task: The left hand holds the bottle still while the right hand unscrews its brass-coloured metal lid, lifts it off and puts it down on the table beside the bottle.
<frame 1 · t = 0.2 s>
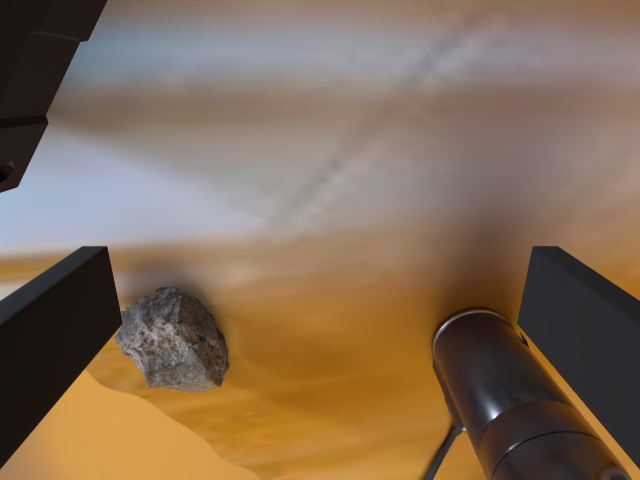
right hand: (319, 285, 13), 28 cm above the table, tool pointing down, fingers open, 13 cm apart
rock: (186, 327, 46), on the table
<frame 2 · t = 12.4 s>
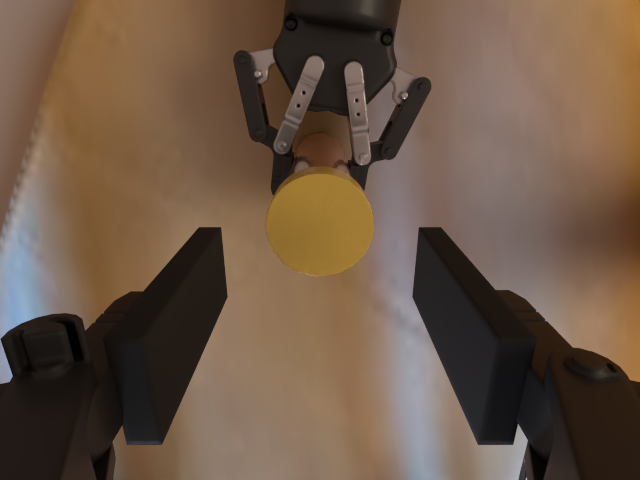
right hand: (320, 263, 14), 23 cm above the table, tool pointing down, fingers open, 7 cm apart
left hand: (314, 204, 31), fingers closed on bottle, 4 cm apart
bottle: (319, 157, 36), on the table, touching left hand
lid: (319, 225, 18), point 19 cm above the table, screwed on, not yet turned
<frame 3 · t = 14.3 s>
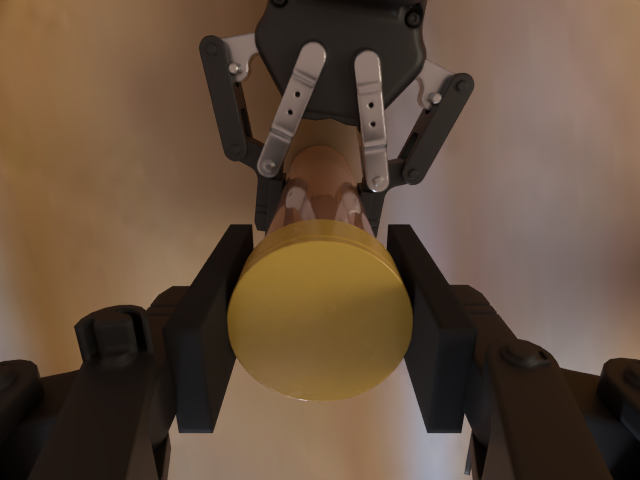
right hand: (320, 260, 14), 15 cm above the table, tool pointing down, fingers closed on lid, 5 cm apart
left hand: (313, 241, 24), fingers closed on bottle, 4 cm apart
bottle: (320, 175, 28), on the table, touching left hand
lid: (320, 321, 11), point 19 cm above the table, screwed on, not yet turned, touching right hand
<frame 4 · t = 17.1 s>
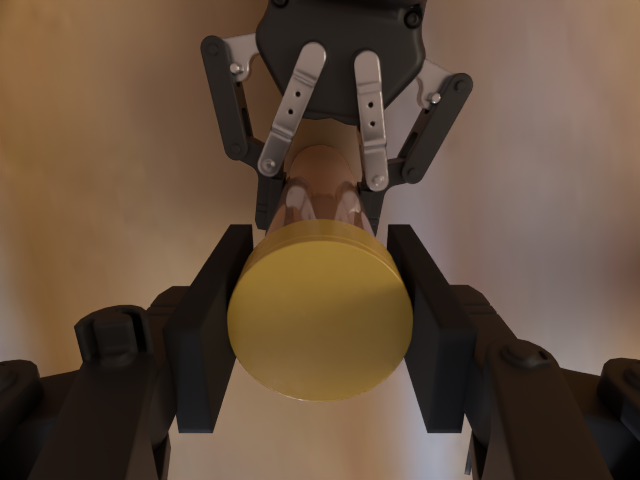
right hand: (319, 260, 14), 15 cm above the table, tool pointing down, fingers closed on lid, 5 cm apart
left hand: (313, 239, 24), fingers closed on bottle, 4 cm apart
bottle: (320, 174, 29), on the table, touching left hand
lid: (320, 321, 11), point 19 cm above the table, turned 74° so far, risen 0.2 cm, still on its thread, touching right hand
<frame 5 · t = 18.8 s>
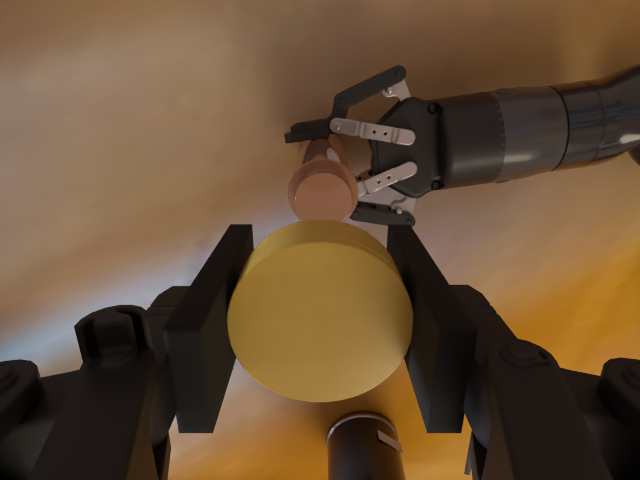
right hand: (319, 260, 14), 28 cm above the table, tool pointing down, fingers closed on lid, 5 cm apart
left hand: (291, 166, 35), fingers closed on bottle, 4 cm apart
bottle: (322, 151, 40), on the table, touching left hand
lid: (320, 321, 11), point 32 cm above the table, off its thread, touching right hand
when the right hand's fingers open (0 cm above the table, at t = 24.2 s): lid drops 3 cm, point 1 cm above the table.
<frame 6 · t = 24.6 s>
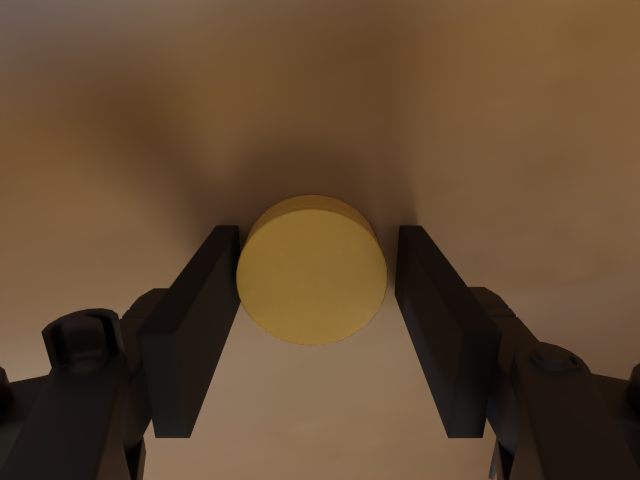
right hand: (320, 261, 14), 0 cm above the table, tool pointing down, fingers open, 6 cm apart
lid: (312, 277, 13), point 1 cm above the table, off its thread
when the left hand's fingers open (6 cm above the table, at t = 25.3 s): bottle stays where it is, on the table.
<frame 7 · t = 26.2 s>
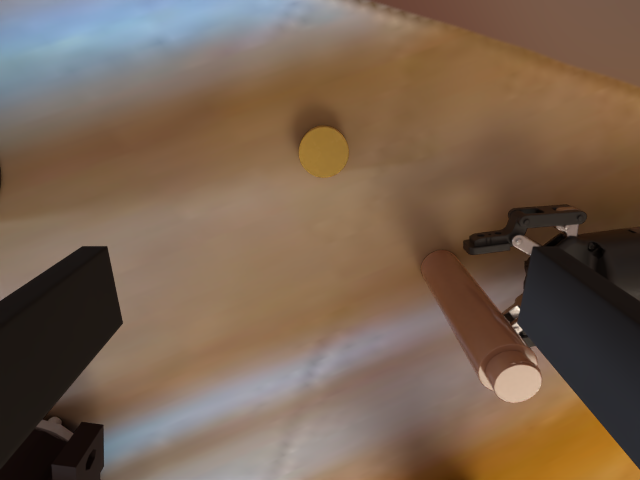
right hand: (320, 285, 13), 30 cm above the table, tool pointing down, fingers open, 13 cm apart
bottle: (439, 267, 45), on the table
lid: (323, 152, 39), point 1 cm above the table, off its thread
mechanical component: (6, 446, 54), on the table
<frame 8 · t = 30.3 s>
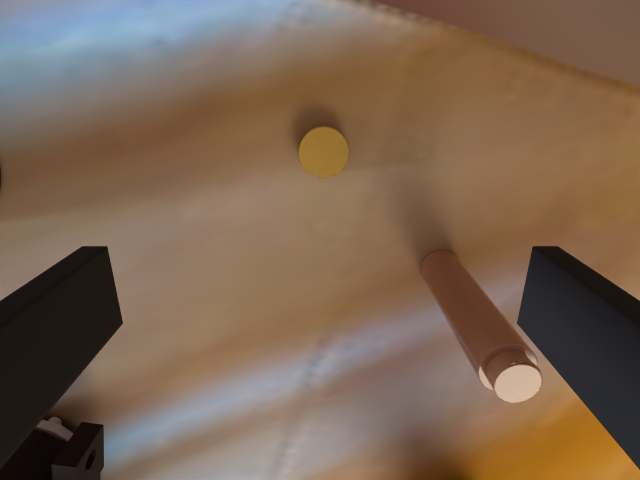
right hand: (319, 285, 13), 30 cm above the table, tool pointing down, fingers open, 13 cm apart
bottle: (439, 267, 45), on the table
lid: (323, 152, 39), point 1 cm above the table, off its thread
mechanical component: (6, 446, 54), on the table
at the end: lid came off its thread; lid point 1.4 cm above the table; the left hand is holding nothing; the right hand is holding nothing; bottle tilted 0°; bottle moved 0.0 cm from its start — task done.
